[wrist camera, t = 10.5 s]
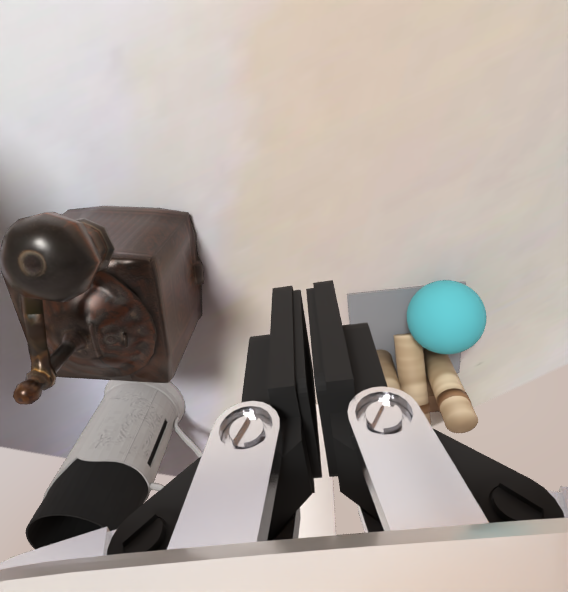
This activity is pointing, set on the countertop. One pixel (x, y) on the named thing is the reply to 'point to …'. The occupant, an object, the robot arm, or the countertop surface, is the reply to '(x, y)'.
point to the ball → (446, 317)
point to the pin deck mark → (386, 317)
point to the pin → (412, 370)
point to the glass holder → (111, 462)
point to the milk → (319, 500)
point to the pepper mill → (103, 293)
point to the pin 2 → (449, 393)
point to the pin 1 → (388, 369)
